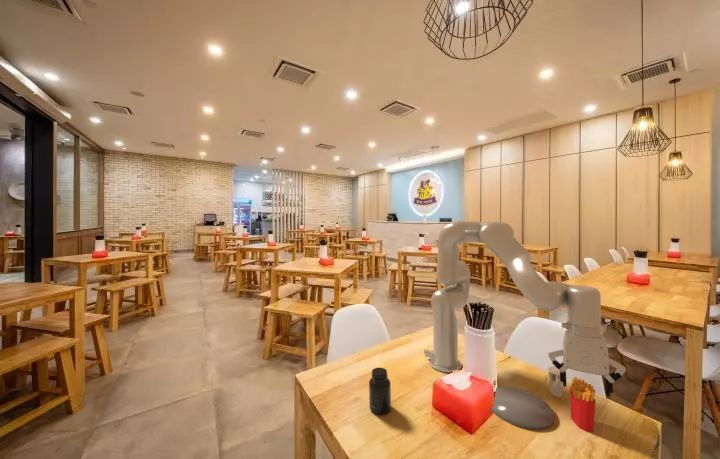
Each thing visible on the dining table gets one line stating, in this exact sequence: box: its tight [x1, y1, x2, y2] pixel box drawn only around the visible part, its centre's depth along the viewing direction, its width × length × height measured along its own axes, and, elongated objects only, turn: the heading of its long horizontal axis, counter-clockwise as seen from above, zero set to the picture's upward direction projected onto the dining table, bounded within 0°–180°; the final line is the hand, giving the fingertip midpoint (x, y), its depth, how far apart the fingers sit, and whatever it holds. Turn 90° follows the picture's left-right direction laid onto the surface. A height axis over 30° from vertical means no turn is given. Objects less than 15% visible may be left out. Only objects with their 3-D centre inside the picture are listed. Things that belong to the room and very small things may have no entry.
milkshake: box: [547, 365, 564, 398], centre depth 94 cm, size 4×5×10 cm
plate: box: [490, 386, 555, 431], centre depth 88 cm, size 18×18×2 cm
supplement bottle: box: [368, 367, 392, 416], centre depth 88 cm, size 7×7×12 cm
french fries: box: [569, 376, 596, 433], centre depth 80 cm, size 8×4×12 cm, turn 169°
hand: (585, 389), depth 80 cm, fingers open, 9 cm apart
